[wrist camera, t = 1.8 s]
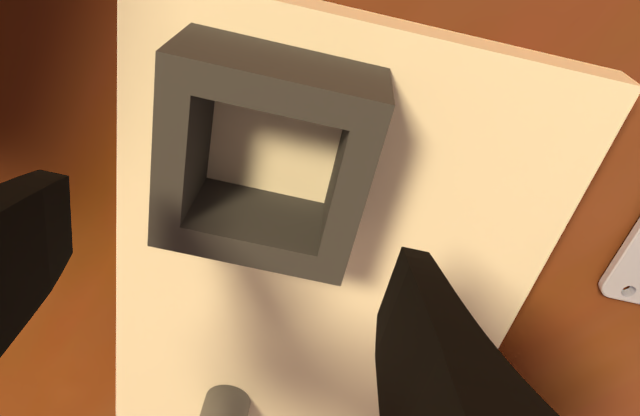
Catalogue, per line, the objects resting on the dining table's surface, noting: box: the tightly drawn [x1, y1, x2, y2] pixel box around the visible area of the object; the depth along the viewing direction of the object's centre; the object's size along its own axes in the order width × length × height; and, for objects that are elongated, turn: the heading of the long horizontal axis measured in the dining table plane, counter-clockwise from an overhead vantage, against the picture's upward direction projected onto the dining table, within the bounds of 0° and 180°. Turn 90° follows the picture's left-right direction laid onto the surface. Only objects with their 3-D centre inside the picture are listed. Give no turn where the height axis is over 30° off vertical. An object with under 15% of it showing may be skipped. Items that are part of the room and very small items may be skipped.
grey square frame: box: [147, 22, 395, 286], centre depth 15 cm, size 6×6×3 cm
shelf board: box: [116, 0, 640, 416], centre depth 19 cm, size 15×24×6 cm, turn 168°
